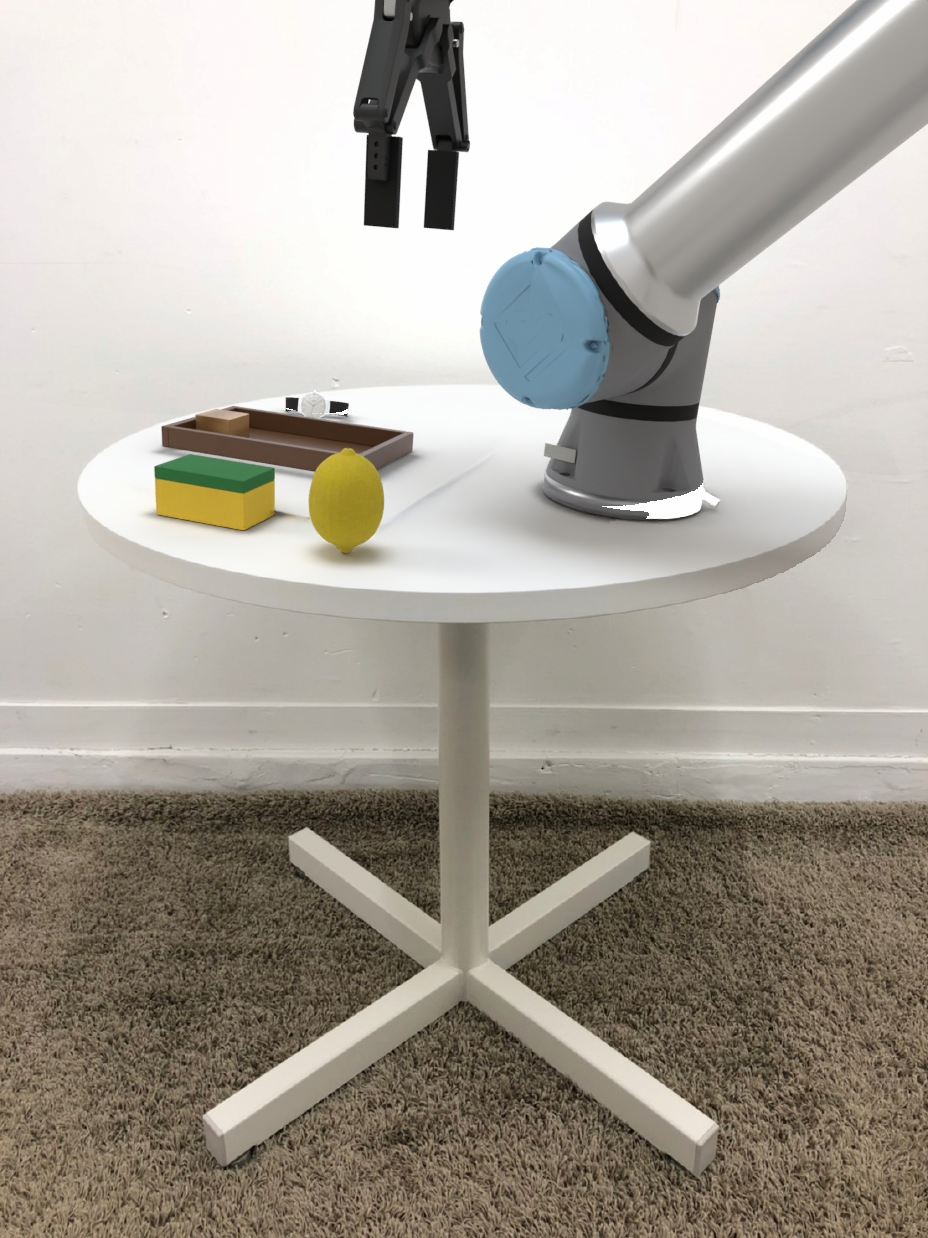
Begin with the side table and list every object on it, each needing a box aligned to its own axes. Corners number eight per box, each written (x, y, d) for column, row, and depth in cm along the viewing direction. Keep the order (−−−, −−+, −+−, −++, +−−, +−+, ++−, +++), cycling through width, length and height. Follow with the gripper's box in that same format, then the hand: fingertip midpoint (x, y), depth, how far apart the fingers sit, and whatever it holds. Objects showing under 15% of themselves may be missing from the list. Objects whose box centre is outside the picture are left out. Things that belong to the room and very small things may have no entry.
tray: (412, 456, 103) (413, 432, 102) (360, 484, 91) (361, 457, 90) (233, 428, 109) (233, 405, 108) (162, 451, 97) (160, 426, 96)
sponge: (191, 500, 82) (189, 453, 81) (275, 514, 80) (275, 467, 79) (156, 514, 78) (153, 466, 76) (244, 530, 76) (243, 481, 74)
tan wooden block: (249, 437, 103) (249, 413, 102) (229, 444, 99) (229, 419, 98) (216, 431, 104) (216, 408, 103) (195, 438, 100) (195, 414, 100)
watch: (280, 419, 115) (280, 388, 114) (290, 412, 120) (290, 382, 118) (344, 425, 115) (345, 394, 114) (351, 417, 119) (352, 388, 118)
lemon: (305, 563, 70) (307, 455, 67) (310, 539, 75) (311, 437, 72) (382, 567, 71) (387, 459, 68) (381, 542, 76) (386, 441, 73)
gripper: (436, -28, 87) (422, 226, 95) (309, -120, 65) (305, 221, 73) (516, -27, 85) (495, 233, 93) (414, -122, 63) (398, 229, 71)
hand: (412, 228), depth 83 cm, fingers open, 13 cm apart
